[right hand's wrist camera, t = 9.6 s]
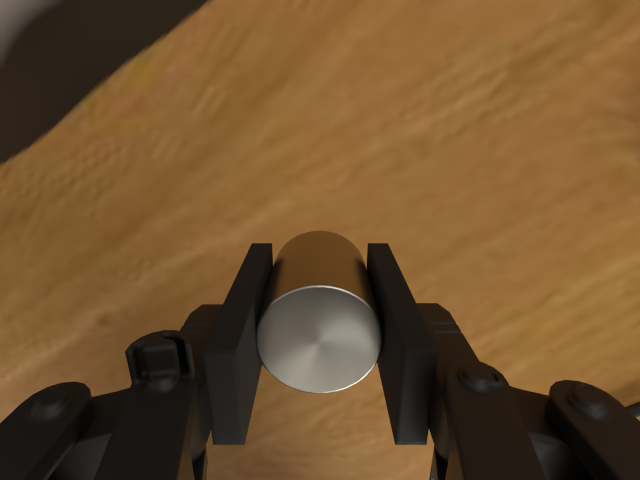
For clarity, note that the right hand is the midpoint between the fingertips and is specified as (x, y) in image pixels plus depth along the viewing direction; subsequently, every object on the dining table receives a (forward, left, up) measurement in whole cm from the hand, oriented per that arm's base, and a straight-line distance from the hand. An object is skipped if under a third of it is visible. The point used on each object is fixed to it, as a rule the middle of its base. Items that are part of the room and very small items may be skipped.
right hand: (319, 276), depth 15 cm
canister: (0, 0, 0) cm, 0 cm away
